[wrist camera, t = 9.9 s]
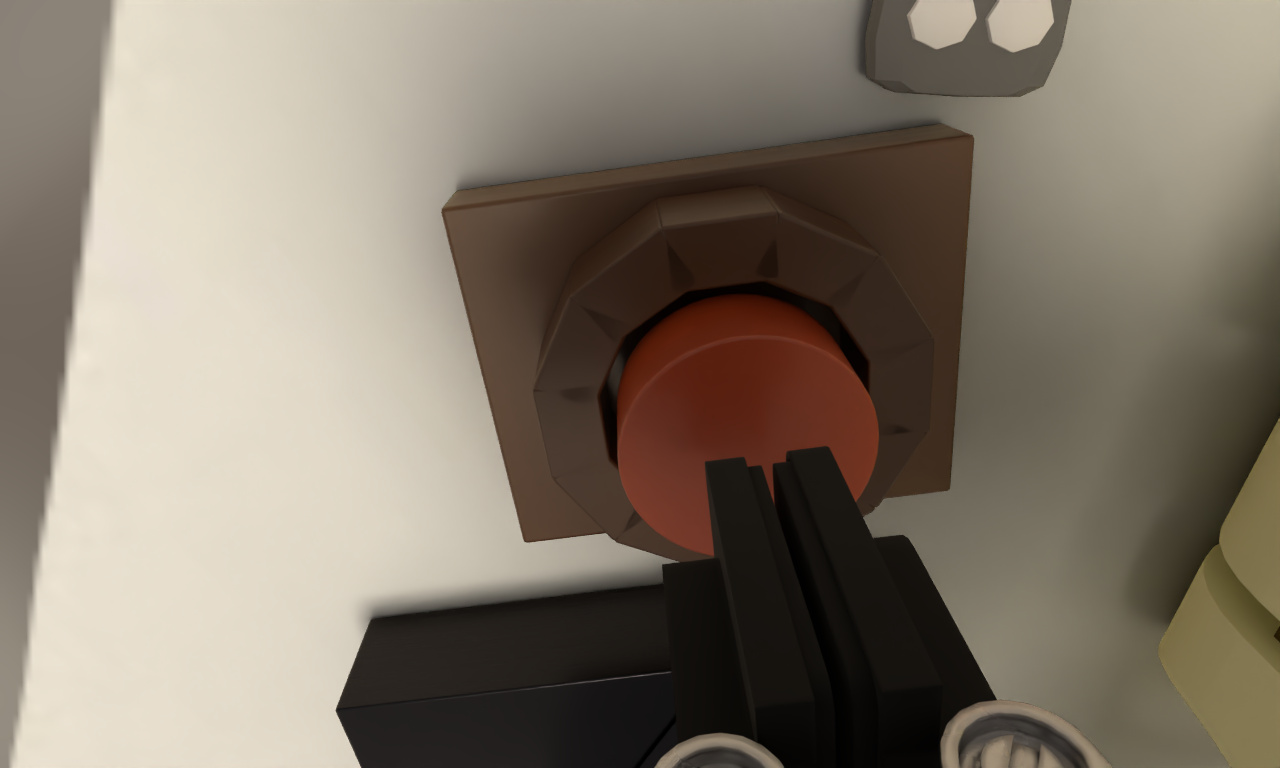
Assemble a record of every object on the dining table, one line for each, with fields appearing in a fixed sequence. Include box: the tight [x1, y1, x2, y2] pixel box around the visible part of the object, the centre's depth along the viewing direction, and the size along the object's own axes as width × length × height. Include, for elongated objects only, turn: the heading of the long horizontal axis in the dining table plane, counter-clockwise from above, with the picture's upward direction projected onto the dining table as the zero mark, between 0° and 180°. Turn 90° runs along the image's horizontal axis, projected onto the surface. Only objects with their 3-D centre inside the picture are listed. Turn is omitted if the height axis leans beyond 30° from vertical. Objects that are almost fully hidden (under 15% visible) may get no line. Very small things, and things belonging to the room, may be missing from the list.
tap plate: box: [336, 584, 676, 768], centre depth 21 cm, size 14×10×3 cm
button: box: [617, 293, 879, 556], centre depth 14 cm, size 4×4×2 cm
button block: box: [441, 124, 974, 562], centre depth 16 cm, size 10×8×4 cm
